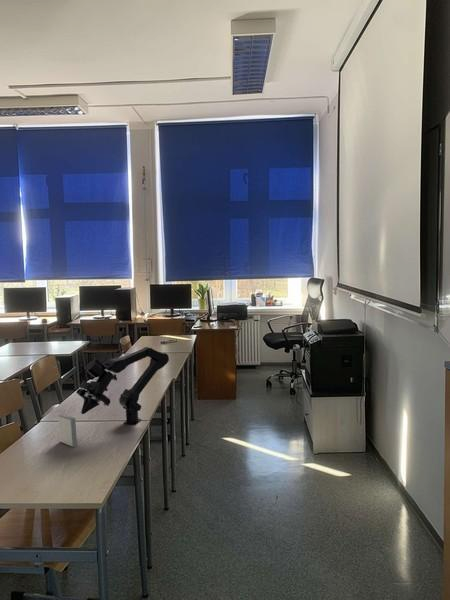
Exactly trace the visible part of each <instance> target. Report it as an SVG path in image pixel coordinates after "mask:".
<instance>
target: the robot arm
mask: <svg viewBox="0 0 450 600" xmlns="http://www.w3.org/2000/svg"><path fill="white" fill-rule="evenodd" d="M147 357H148V358H150V360H149V365H148V366H147V367H146V368H145V370H144V371H143V373H142V374H141V375H140V376H139V378H138V379H137V381H136V382H135V383H134V384H133V385H132V387H131V388H130V389H128V388H125V389H124V390H123V391H122V393H121V394H120V397H119V398H118V402H119V405H120V406H122V409H124V410H125V420H124V422H123V424H124V425H137V424H138V423H139V422H140V421H142V418H139V411H141V410H142V405H141V404H139V403H138V401H139V398H140V396H141V393H142V391H143V390H144V389H145V388H146V386H147V385H148V384H149V383H150V381H151V380H152V379H153V377H154V375H156V373H157V372H158V371H159V370H161V369H163V368H164V367H165V366H166V365H167V364H168V363H169V361H170V357H169V354H168V353H165V352H160V351H157V350H155V349H154V348H152V347H149V346H145V347H142V348H141V349H139V350H137V351H133V352H132V353H129V354H128V355H125V356H122V357H121V356H119V357H115V358H110V359H109V360H108V361H107V362H103V363H102V362H100V360H99V359H97V358H94V359H93V360H91V361H90V362H88V363H87V364H86V365H85V367H84V370H85V372H87V373H88V374H89V375H91V377H93V378H94V379H96V378H97V379H96V380H95V381H93V380H92V381H90V382H87V381H84V380H82V381H81V384H80V386H79V388H78V389H77V390H76V392H75V393H76V394H77V395H78V396H80V397H81V398H82V399H83V404H82V408H81V411H80V413H81V414H82V415H85V414H86V413H88V412H90V411H91V410H92V409H94V408H96V407H99V406H100V405H101V404H100V403H101V402H102V403H103V406H106V407H109V406H110V404H111V399H110V398H109V397H108V396H107V395H105V394H104V393H105V392H107V391H108V390H109V389H108V386H109V385H110V384H111V382H112V381H118V377H117V374H120V373H121V372H122V371H124V370H126V368H127V367H129V366H130V365H133V364H134V363H137V362H140V361H141V360H143V359H146V358H147ZM113 373H114V374H113Z"/></svg>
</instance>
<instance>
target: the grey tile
mask: <svg viewBox="0 0 450 600" xmlns="http://www.w3.org/2000/svg"><path fill="white" fill-rule="evenodd" d="M57 419H58V431H59V433H58V434H59V441H60V443H62V444H65V445H67V446H69V447H72V448H75V447H77V446H78V441H77V440H78V439H77V427H76V417H73V416H71V415H68V414H64V413H60V414H58V418H57Z"/></svg>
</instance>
